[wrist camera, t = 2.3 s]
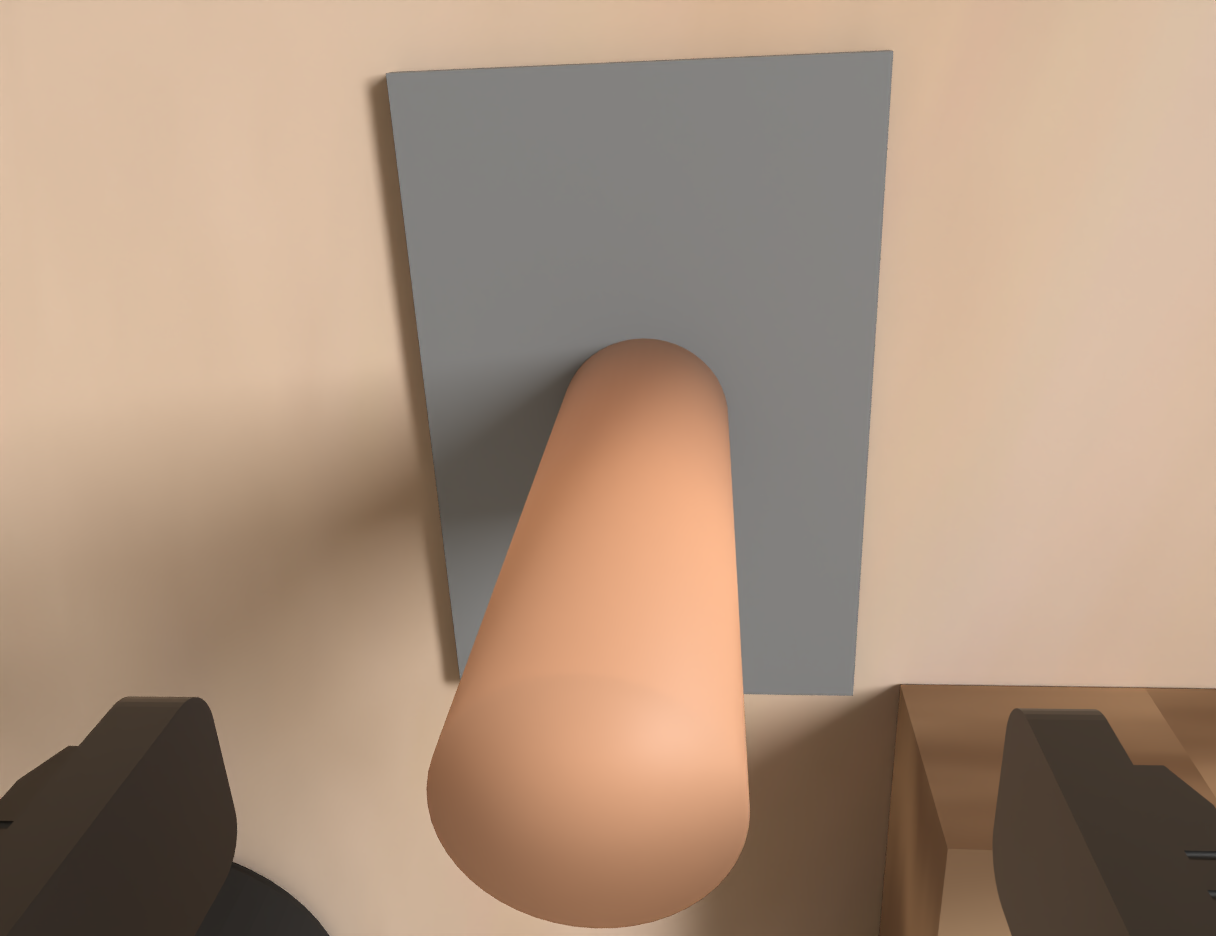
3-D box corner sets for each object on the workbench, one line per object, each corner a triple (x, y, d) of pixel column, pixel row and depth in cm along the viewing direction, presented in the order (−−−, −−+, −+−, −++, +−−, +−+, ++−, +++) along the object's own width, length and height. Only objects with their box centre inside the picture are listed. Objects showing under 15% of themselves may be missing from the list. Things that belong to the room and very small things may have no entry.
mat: (393, 71, 17) (385, 73, 17) (889, 49, 16) (893, 51, 16) (465, 678, 22) (460, 689, 21) (850, 684, 21) (852, 695, 21)
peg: (556, 339, 18) (408, 671, 9) (728, 336, 18) (752, 677, 9) (567, 494, 19) (445, 922, 10) (727, 493, 19) (748, 934, 10)
